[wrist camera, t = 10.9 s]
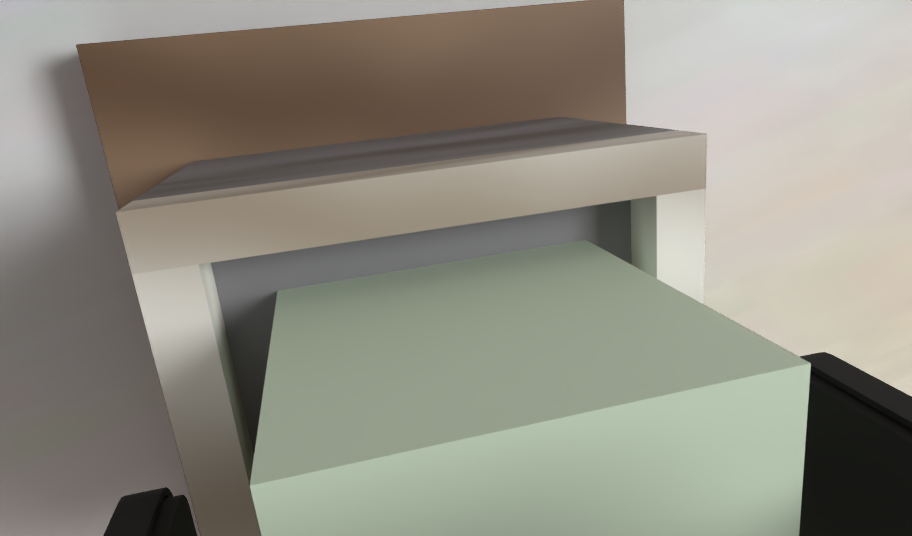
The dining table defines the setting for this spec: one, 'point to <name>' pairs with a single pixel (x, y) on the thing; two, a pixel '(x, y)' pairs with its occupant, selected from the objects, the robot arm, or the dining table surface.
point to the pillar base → (365, 183)
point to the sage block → (524, 406)
